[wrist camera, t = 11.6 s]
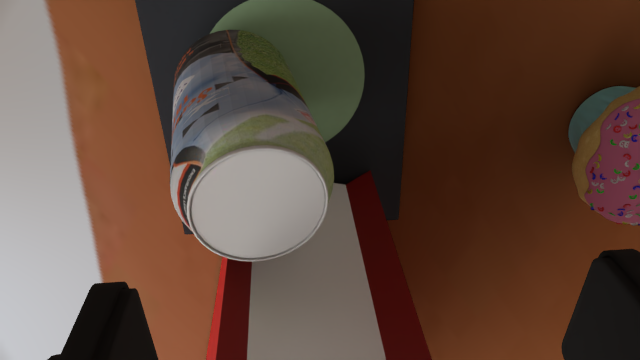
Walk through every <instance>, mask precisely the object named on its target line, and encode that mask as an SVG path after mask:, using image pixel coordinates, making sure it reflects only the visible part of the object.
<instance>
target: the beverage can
mask: <svg viewBox="0 0 640 360" xmlns="http://www.w3.org/2000/svg"><path fill="white" fill-rule="evenodd" d="M333 183H334V169H333V163H332V159H331V156H330V152H329V150H328V148H327V146H326V144H325V142H324V140H323V138H322V136H321V134H320V132H319V129H318V127H317V125H316V123H315V121H314V119H313V117H312V115H311V113H310V111H309V109H308V106H307V104H306V102H305V100H304V98H303V96H302V94H301V92H300V90H299V88H298V86H297V84H296V81H295V79H294V77H293V75H292V73H291V71H290V69H289V67H288V65H287V63H286V61H285V59H284V57H283V55H282V54H281V53H280V52H279V50H278V49H277V48H276V47H275V46H274V45H273V44H271V43H270V42H269V41H268V40H266V39H264V38H263V37H261V36H259V35H257V34H254V33H251V32H248V31H243V30H222V31H217V32H214V33H211V34H208V35H206V36H204V37H202V38H200V39H199V40H197V41H196V42H195V43H194V44H192V45H191V46H190V47H189V48H188V49H187V51H186V52H185V53H184V54H183V56H182V58H181V59H180V61H179V63H178V66H177V69H176V72H175V78H174V93H173V119H172V144H171V169H170V189H171V197H172V200H173V203H174V207H175V209H176V211H177V213H178V215H179V216H180V218H181V220H182V221H183V222H184V224H185V225H186V226H187V227H188V228H189V229H190V230H191V231H192V232H193V233H194V235H195V236H196V238H197V239H198V240H199V241H200V242H201V243H202V244H203V245H204V246H205V247H207V248H208V249H209V250H211V251H212V252H214V253H216V254H218V255H220V256H223V257H226V258H229V259H233V260H238V261H251V262H253V261H264V260H269V259H274V258H277V257H280V256H283V255H285V254H288V253H290V252H291V251H293V250H295V249H297V248H298V247H300V246H301V245H303V244H304V243H305V242H307V241H308V240H309V239H310V238H311V237H312V236H313V235H314V234H315V232H316V231H317V230H318V228H319V227H320V225H321V223H322V222H323V220H324V217H325V214H326V212H327V207H328V203H329V200H330V197H331V194H332V190H333Z"/></svg>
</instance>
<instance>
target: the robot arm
mask: <svg viewBox="0 0 640 360" xmlns="http://www.w3.org/2000/svg"><path fill="white" fill-rule="evenodd" d="M562 354H563V357H564V359H565V360H640V252H638V251H637V250H634V249H623V250H608V251H603V252H602V253H600V255H599V257H598V258H596V259H594V260H593V262H592V264H591V266H590V269H589V272H588V274H587V277H586V280H585V282H584V285H583V288H582V290H581V293H580V296H579V299H578V301H577V304H576V307H575V309H574V312H573V315H572V317H571V320H570V323H569V325H568V328H567V331H566V333H565V336H564V339H563V342H562ZM48 360H158V357H157V354H156V350H155V347H154V344H153V340H152V337H151V334H150V330H149V327H148V324H147V320H146V317H145V314H144V310H143V307H142V304H141V301H140V297H139V294H138V291H137V290H136V289H135V288H133V289H129V287H128V285H127V283H126V282H112V283H97V284H94V285H93V286H92V287H91V289H90V290H89V293H88V295H87V297H86V299H85V302H84V304H83V306H82V308H81V311H80V313H79V315H78V317H77V319H76V322H75V324H74V326H73V328H72V331H71V333H70V335H69V337H68V339H67V342H66V344H65V346H64V348H63V351H62V353H61V354H59V355H54V356H51V357H50V358H49V359H48Z"/></svg>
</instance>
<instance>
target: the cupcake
mask: <svg viewBox="0 0 640 360" xmlns="http://www.w3.org/2000/svg"><path fill="white" fill-rule="evenodd" d="M568 134H569V141H570V144H571V146H572V148H573V150H574V153H575V155H574V158H573V162H572V173H573V178H574V182H575V184H576V187H577V191H578V195H579V197H580V198H581V199H582V200H583V201H584V202H585V203H586V204H588V205H589V206H590V207H591V210H594V211H596V212H597V213H599V214H601V215H602V216H604V217H605V218H607V219H608V220H611V221H614V222H616V223H617V224H631V225H640V86H638V87H637V88H634V87H626V86H614V87H609V88H606V89H603V90H601V91H598V92H597V93H595V94H593V95H592V96H590V97H589V98H588V99H586V100H585V101H584V102H583V103H582V104H581V105H580V106H579V108H578V109H577V110H576V112H575V113H574V115H573V117H572V119H571V122H570V125H569V132H568Z"/></svg>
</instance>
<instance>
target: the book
mask: <svg viewBox="0 0 640 360" xmlns="http://www.w3.org/2000/svg"><path fill="white" fill-rule="evenodd" d="M206 360H432V359H431V356H430V353H429V350H428V347H427V344H426V341H425V338H424V335H423V331H422V328H421V325H420V322H419V319H418V316H417V313H416V310H415V307H414V304H413V301H412V297H411V294H410V291H409V288H408V285H407V282H406V279H405V276H404V273H403V270H402V267H401V264H400V260H399V257H398V254H397V251H396V248H395V245H394V242H393V239H392V236H391V233H390V230H389V226H388V223H387V220H386V217H385V214H384V211H383V208H382V205H381V202H380V199H379V196H378V192H377V189H376V186H375V183H374V180H373V177H372V174H371V171H368V172H366V173H365V174H363V175H361V176H359V177H358V178H356V179H354V180H353V181H351V182H349V183H348V184H346V185H344V184H337V183H333V190H332V194H331V197H330V200H329V203H328V207H327V212H326V214H325V217H324V220H323V222H322V223H321V225H320V227H319V228H318V230H317V231H316V232H315V234H314V235H313V236H312V237H311V238H310V239H309V240H308V241H307V242H305V243H304V244H303V245H301V246H300V247H298V248H297V249H295V250H293V251H291V252H290V253H288V254H285V255H283V256H280V257H277V258H274V259H269V260H264V261H253V262H251V261H238V260H233V259H229V258H226V257H223V258H222V264H221V270H220V276H219V282H218V289H217V295H216V301H215V307H214V313H213V319H212V326H211V332H210V338H209V344H208V350H207V356H206Z"/></svg>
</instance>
